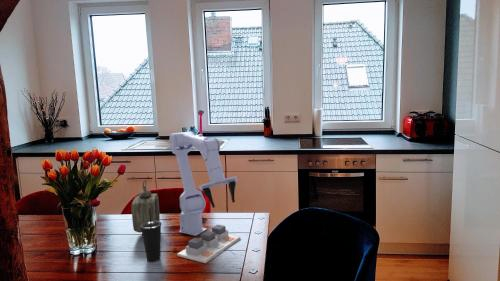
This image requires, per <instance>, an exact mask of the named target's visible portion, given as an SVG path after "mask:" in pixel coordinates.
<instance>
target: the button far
mask: <svg viewBox="0 0 500 281" xmlns="http://www.w3.org/2000/svg"><path fill="white" fill-rule="evenodd" d="M226 230H227V228H226V225H223V224H222V225H221V224H216V225H214V226H213V227H211V232H215V233H216V234H222V233H223V232H225V231H226Z"/></svg>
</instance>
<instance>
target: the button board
mask: <svg viewBox="0 0 500 281" xmlns="http://www.w3.org/2000/svg"><path fill="white" fill-rule="evenodd" d="M199 239H201V237H200V238H199ZM239 240H241V236H240V235H236V234H235V235H234V234H230V233H229V230H228V229H226V231H225V232H223V233H222V234H216V233H215V238H214V239H212V240H211V241H205V240H203V244H204V245H203V246H201V247H199V248H198V249H195V248H191V247H189V244H188V245H186V246H185V249H183V250H181V251H180V252H177V257H181V258H184V259H189V260H191V261H194V262H195V261H196V262H199V263H204V264H206V263H208V262H209V261H211V260H212V259H214V258H215V257H217V256H218V255H220V253H222V252H223V251H225V250H226V249H229V247H231V246H232V245H233V244H235V243H236V242H238V241H239Z"/></svg>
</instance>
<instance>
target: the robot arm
mask: <svg viewBox="0 0 500 281" xmlns="http://www.w3.org/2000/svg"><path fill="white" fill-rule="evenodd" d="M168 140H169V146H170V150H171V152H172V154H174V155H175V158H176V162H177V166H178V171H179V174H180V177H181V183H182V187H183V192H182V193H181V194H180V196H179V208H180V210H181V212H180V214H179V233H180V234H181V233H182V234H186V235H190V236H195V237H196V236H198V235H201V234H202V233H204V232H205V231H208V230H207V229H208V228H206V227H203V213H202V211H203V209H204V210H205V208H206V199H205V198H204V196H203V194H204V195H205V196H206V198H207V199H208V200H209V203H210V204H211V207H212V208H215V207H216V206H215V203H214V200H213V196H212V191H211V189H213V188H217V187H220V186H224V185H228V190H229V193H230V197H231V202H232V203H235V202H236V200H235V191H236V183H237V182H239V180H238V176H237V175H236V176H231V177H226V178H225V174H224V169H223V165H222V161H221V157H220V153H219V152H220V150H221V145H220V142H219V140H218V139H217V138H209V137H208V136H203V134H202V133H199V134H195V133H194V131H184V132H175V133H174V132H172V133H171V134H170V135H169V139H168ZM193 148H194V149H196V150H198V151H199V152H200V154H201V156H202V159H203V161H205V166H206V170H207V174H208V178H209V182H206V183H204V184H203V183H202V184H199V185H198V188H199V189H197V188H196V186H195V180H194V176H193V173H192V169H191V165H190V161H189V160H190V159H189V156H188V153H189V152H191V151H192V149H193ZM203 212H204V211H203Z"/></svg>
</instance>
